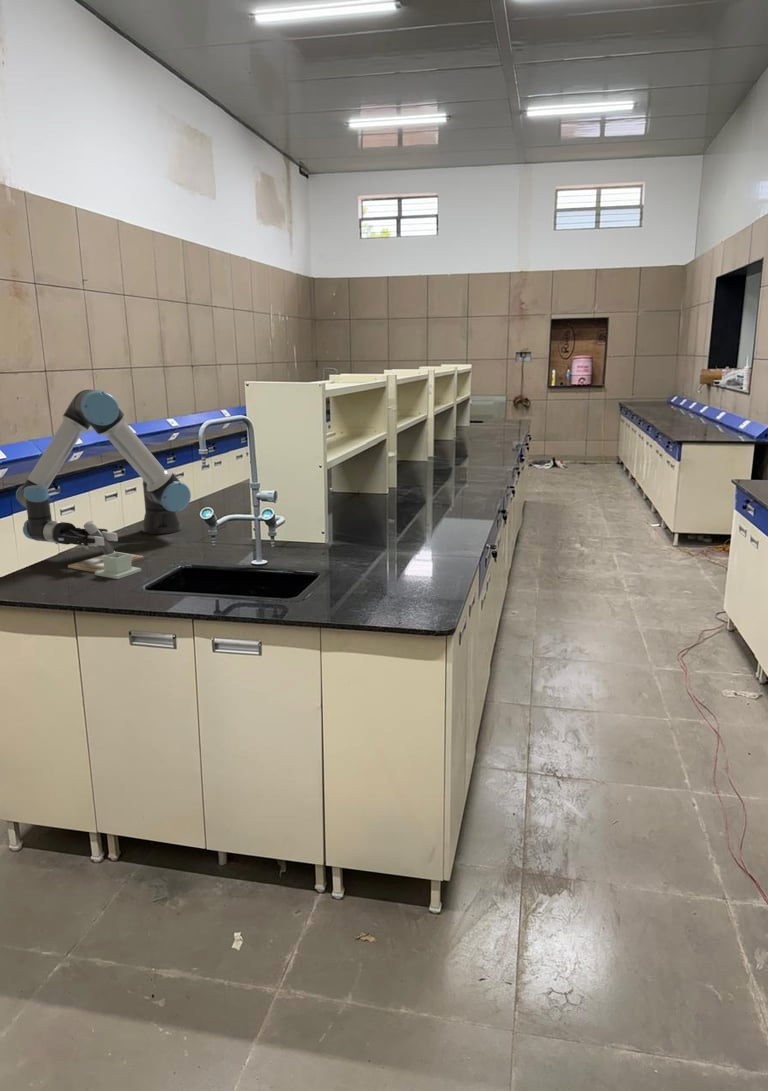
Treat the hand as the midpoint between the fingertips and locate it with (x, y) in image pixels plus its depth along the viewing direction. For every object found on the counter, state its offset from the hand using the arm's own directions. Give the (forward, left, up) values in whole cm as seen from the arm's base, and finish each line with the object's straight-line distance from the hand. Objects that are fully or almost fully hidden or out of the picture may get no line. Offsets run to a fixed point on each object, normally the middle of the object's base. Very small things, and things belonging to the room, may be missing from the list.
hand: (109, 539), depth 244 cm
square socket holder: (+5, +8, -9) cm, 13 cm away
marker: (-5, -5, -7) cm, 10 cm away
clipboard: (-2, -5, -9) cm, 11 cm away
